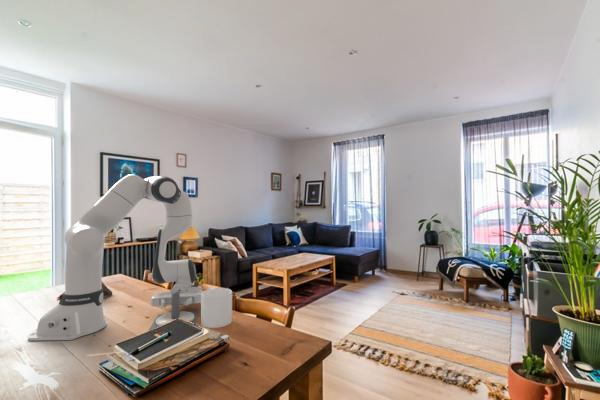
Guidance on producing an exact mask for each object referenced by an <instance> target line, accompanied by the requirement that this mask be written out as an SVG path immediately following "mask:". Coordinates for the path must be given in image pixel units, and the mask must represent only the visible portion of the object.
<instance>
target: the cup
mask: <svg viewBox="0 0 600 400" xmlns="http://www.w3.org/2000/svg"><path fill="white" fill-rule="evenodd" d="M232 321H233V290H231V289H230V288H227V287H216V288H215V287H214V288H213V287H212V288H209V289H206V290H203V292H202V293H201V303H200V324H201V326H202V327H204V328H206V329H207V328H209V329H216V328H222V327H226V326H228V325H230V324H231V323H232Z"/></svg>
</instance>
